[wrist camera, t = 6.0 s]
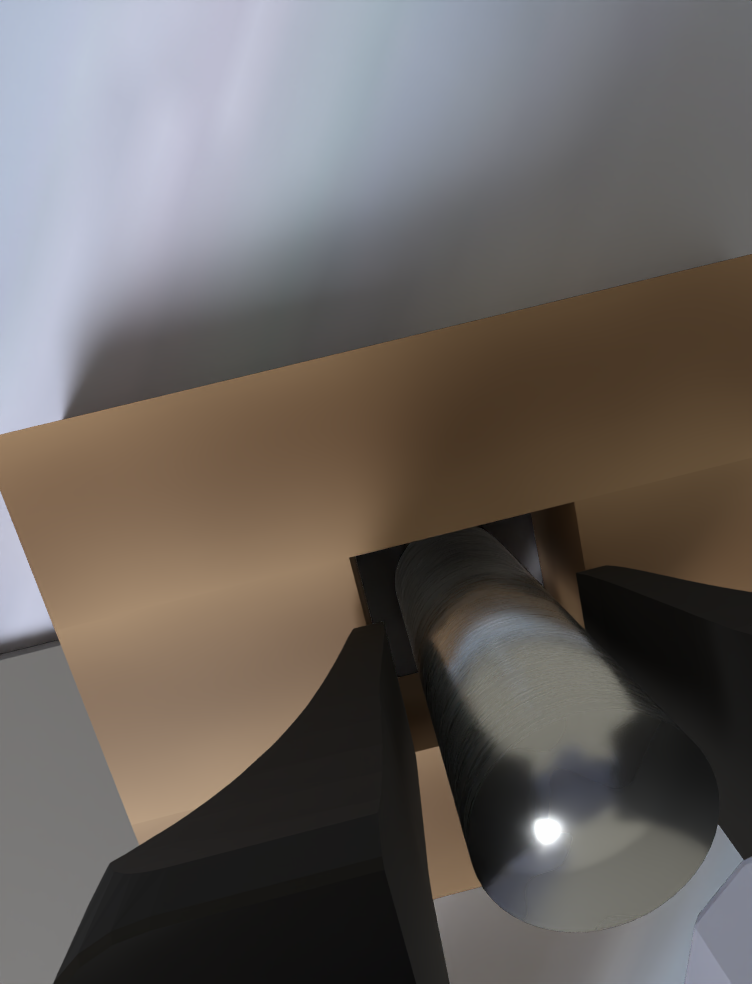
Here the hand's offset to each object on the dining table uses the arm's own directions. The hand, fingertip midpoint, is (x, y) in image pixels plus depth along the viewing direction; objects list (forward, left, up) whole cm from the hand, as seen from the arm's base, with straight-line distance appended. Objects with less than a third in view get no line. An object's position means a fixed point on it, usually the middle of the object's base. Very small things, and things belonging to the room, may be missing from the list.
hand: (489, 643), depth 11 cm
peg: (0, 0, -3) cm, 3 cm away
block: (0, 0, -3) cm, 3 cm away
